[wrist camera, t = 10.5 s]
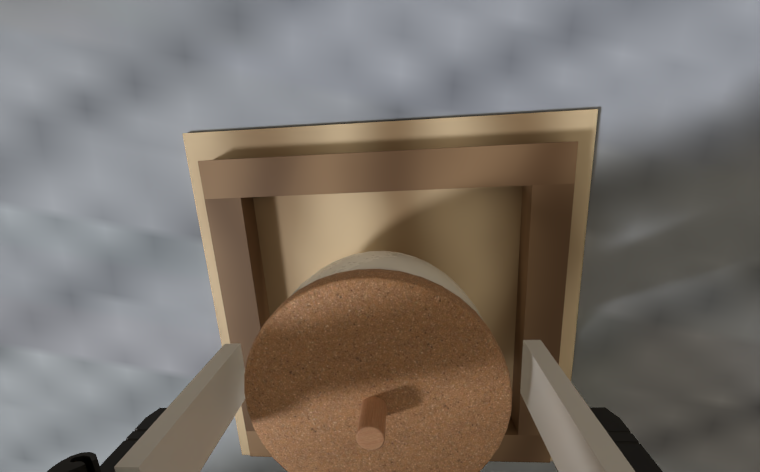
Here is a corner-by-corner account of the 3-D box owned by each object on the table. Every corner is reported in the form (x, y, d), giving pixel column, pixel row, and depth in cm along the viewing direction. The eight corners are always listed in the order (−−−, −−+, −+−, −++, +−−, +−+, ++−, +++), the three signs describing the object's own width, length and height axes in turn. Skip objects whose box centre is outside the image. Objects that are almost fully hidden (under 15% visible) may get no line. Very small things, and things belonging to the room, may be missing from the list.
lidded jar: (273, 254, 21) (171, 339, 12) (450, 205, 19) (490, 259, 10) (331, 402, 23) (283, 568, 14) (492, 368, 22) (554, 530, 13)
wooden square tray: (244, 451, 25) (232, 473, 23) (185, 133, 20) (164, 132, 18) (561, 457, 23) (573, 482, 22) (594, 109, 18) (615, 105, 16)
